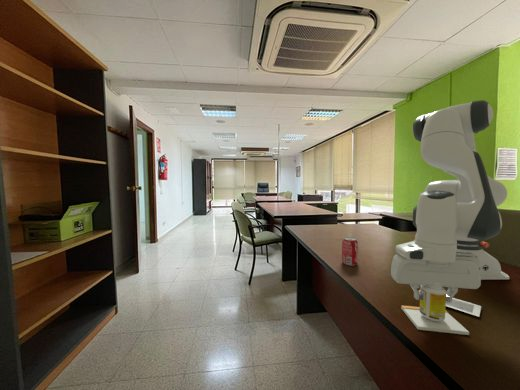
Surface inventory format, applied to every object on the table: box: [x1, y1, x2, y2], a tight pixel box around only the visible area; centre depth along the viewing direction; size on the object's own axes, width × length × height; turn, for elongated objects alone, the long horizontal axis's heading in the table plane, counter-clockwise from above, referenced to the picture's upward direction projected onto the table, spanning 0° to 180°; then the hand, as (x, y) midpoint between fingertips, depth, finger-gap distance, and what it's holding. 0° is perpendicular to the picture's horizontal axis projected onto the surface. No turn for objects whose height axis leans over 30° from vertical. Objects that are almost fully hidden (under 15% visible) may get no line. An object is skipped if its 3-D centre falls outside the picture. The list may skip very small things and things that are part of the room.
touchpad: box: [418, 289, 482, 318], centre depth 69 cm, size 8×15×2 cm, turn 42°
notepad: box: [400, 305, 470, 336], centre depth 60 cm, size 12×10×1 cm
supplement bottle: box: [419, 283, 447, 321], centre depth 60 cm, size 6×6×10 cm
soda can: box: [341, 236, 359, 267], centre depth 102 cm, size 7×7×12 cm
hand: (432, 300), depth 60 cm, fingers closed on supplement bottle, 5 cm apart
